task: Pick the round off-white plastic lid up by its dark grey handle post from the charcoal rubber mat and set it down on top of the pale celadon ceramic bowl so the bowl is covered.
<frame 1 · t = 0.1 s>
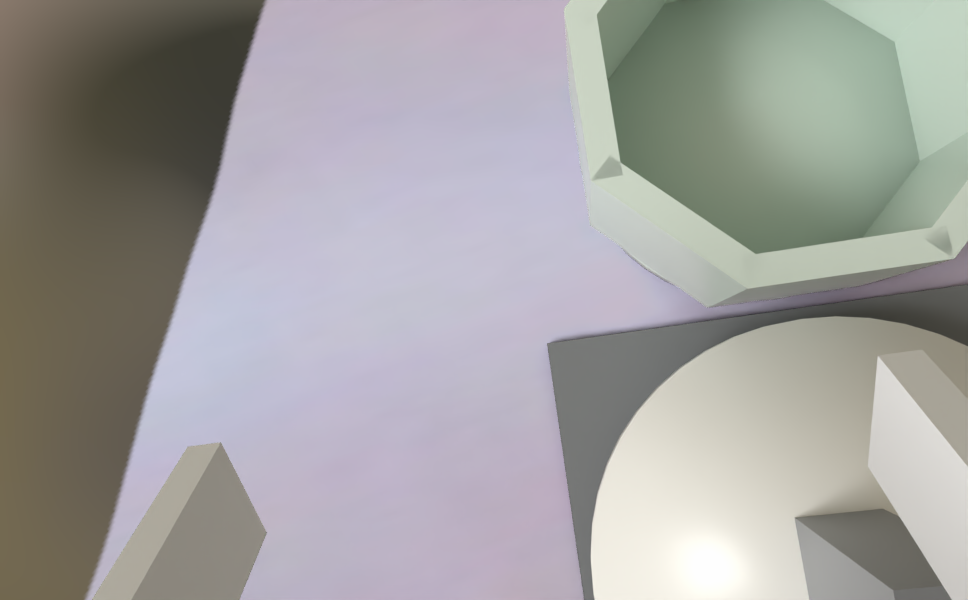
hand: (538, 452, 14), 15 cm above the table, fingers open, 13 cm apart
mat: (821, 549, 27), on the table
bowl: (745, 136, 29), on the table
lid: (824, 551, 26), resting on mat
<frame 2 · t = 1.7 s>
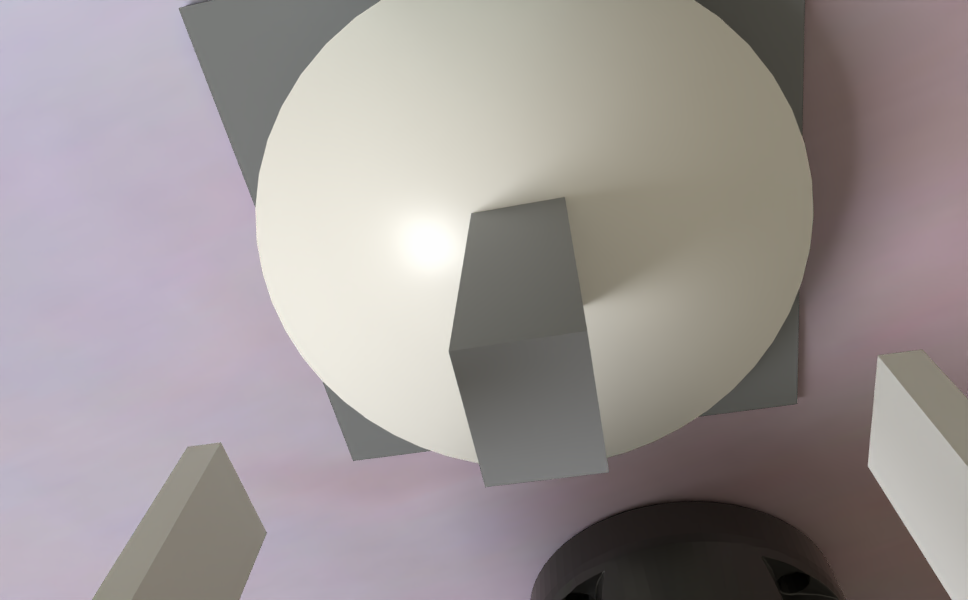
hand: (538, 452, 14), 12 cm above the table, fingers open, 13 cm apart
mat: (527, 227, 25), on the table
lid: (527, 231, 25), resting on mat
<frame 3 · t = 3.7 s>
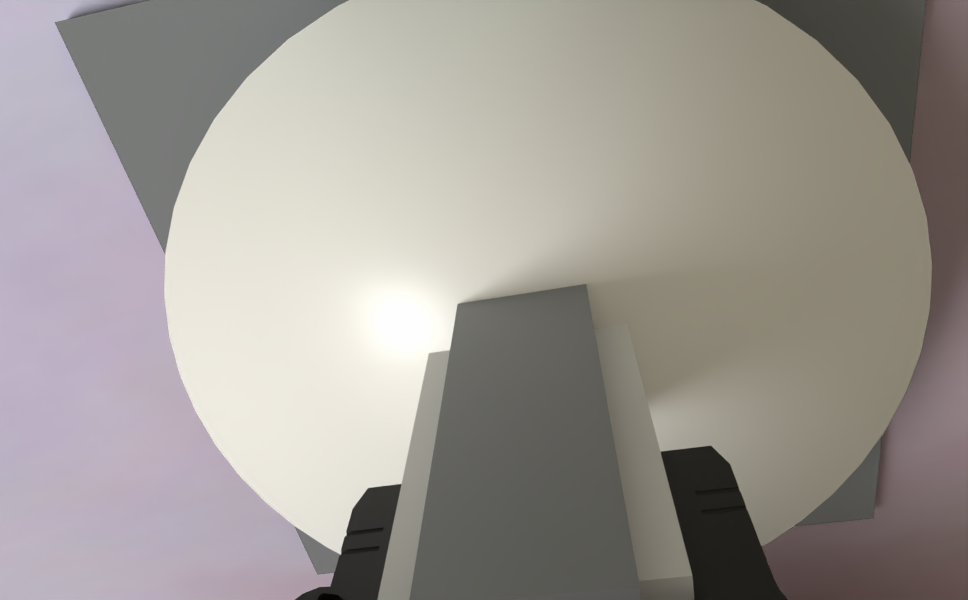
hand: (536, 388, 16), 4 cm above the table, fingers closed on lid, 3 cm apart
mat: (533, 305, 19), on the table
lid: (533, 312, 19), resting on mat, touching gripper
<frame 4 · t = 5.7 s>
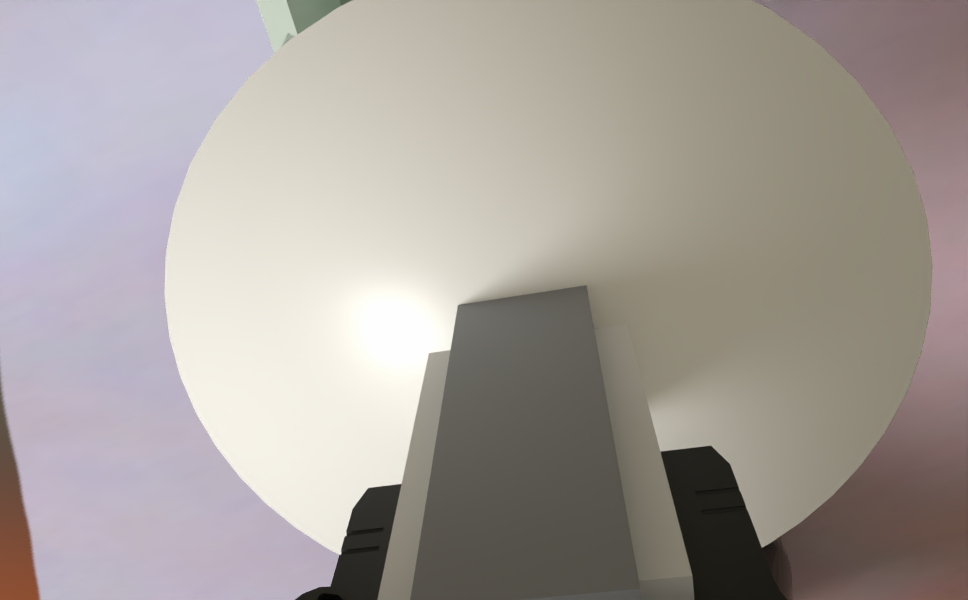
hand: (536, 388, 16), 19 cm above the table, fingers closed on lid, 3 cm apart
lid: (533, 313, 19), point 16 cm above the table, touching gripper
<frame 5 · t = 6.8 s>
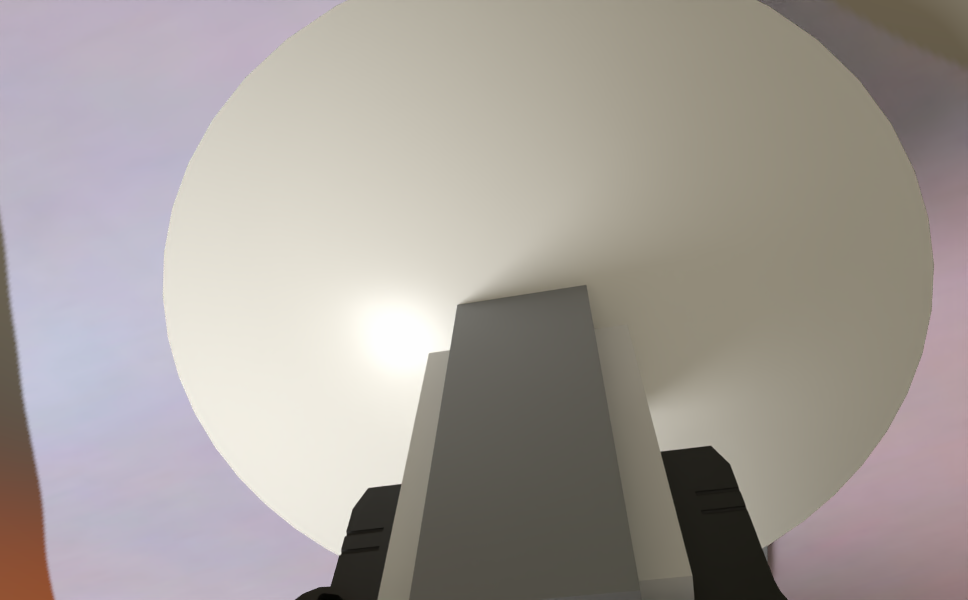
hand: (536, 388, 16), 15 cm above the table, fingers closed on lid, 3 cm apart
lid: (533, 313, 19), point 11 cm above the table, touching gripper
when the fingers open (11 cm above the table, at t = 7.7 s): lid drops 1 cm, resting on bowl.
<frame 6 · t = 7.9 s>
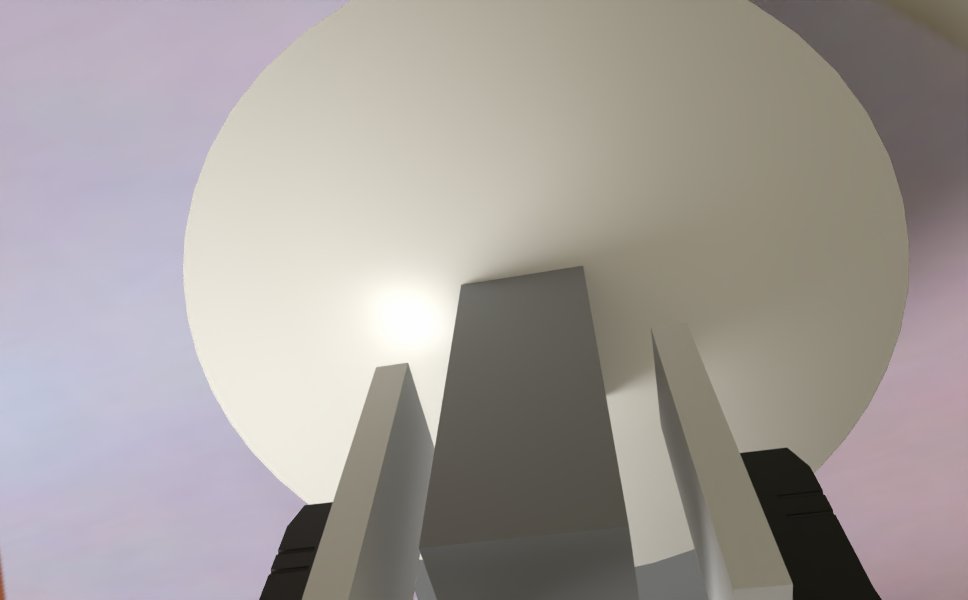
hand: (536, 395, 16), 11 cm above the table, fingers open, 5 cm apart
mat: (588, 528, 33), on the table
lid: (533, 295, 20), point 6 cm above the table, touching bowl
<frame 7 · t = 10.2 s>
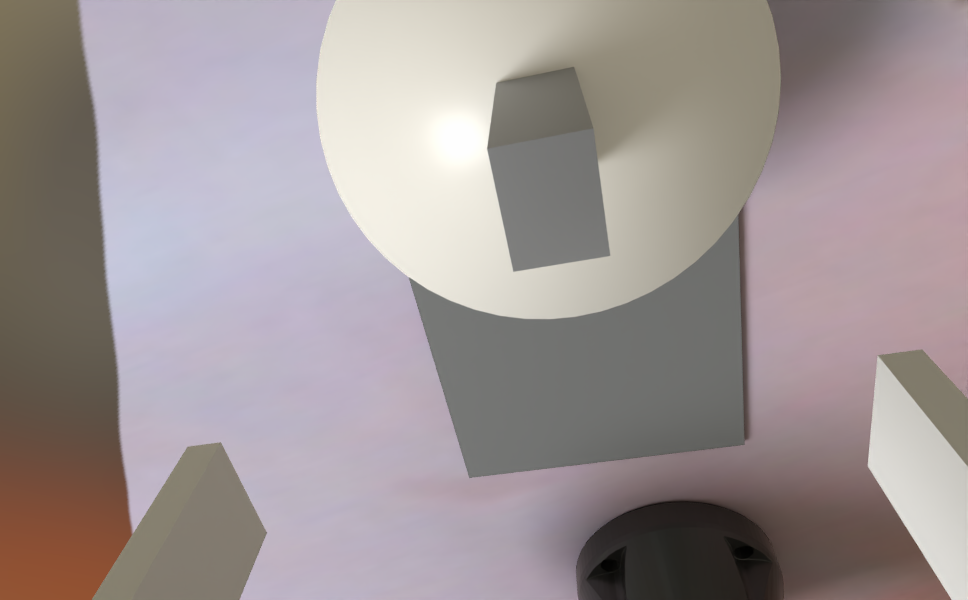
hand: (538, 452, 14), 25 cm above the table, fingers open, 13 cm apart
mat: (583, 346, 43), on the table
lid: (541, 109, 29), point 6 cm above the table, touching bowl
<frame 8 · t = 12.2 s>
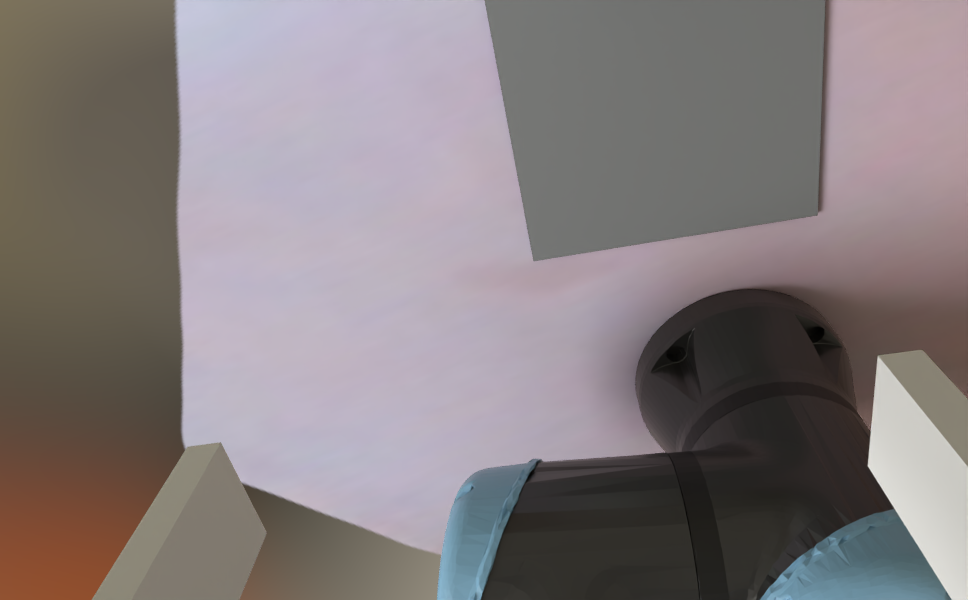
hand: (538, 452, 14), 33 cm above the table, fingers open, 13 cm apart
mat: (659, 98, 42), on the table
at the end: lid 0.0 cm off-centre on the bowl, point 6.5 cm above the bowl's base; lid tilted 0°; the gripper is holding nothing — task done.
